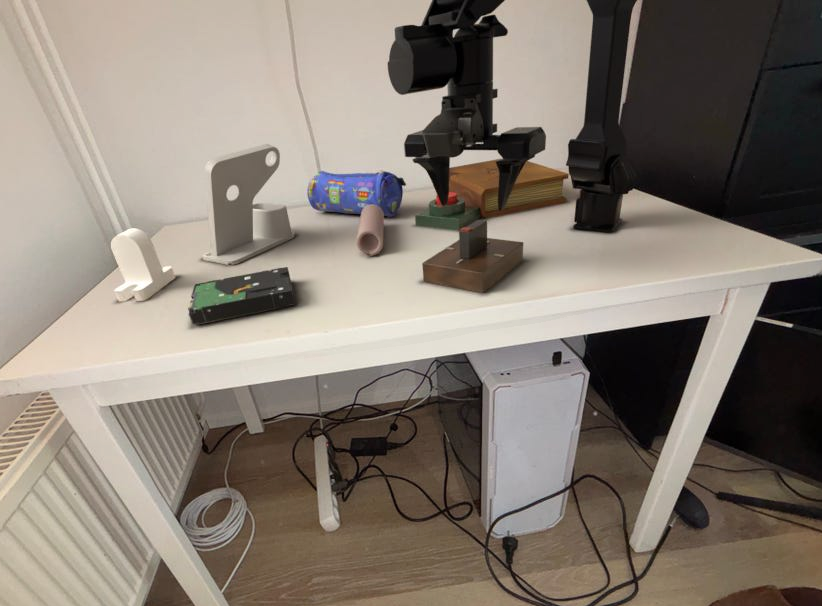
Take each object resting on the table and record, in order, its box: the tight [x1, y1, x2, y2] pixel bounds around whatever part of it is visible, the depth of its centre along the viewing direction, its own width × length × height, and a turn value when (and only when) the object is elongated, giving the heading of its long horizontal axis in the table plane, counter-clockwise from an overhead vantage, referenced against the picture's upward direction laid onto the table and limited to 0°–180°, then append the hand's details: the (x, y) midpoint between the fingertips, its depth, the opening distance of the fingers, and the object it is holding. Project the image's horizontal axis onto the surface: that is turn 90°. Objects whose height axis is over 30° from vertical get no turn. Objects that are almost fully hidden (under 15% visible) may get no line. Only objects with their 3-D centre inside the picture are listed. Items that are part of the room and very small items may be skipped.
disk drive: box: [187, 266, 295, 325], centre depth 73 cm, size 10×3×15 cm
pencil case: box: [306, 169, 407, 218], centre depth 107 cm, size 22×9×10 cm, turn 58°
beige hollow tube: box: [356, 204, 385, 257], centre depth 91 cm, size 5×5×18 cm
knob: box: [458, 219, 488, 259], centre depth 72 cm, size 6×2×4 cm, turn 142°
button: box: [435, 192, 457, 205], centre depth 94 cm, size 4×4×2 cm
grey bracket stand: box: [201, 143, 295, 266], centre depth 93 cm, size 17×10×18 cm, turn 145°
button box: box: [414, 197, 481, 232], centre depth 96 cm, size 10×8×4 cm
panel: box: [421, 237, 524, 294], centre depth 74 cm, size 10×13×3 cm
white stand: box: [110, 227, 176, 302], centre depth 81 cm, size 5×10×10 cm, turn 170°
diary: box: [449, 158, 570, 219], centre depth 105 cm, size 23×19×6 cm
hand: (471, 207), depth 70 cm, fingers open, 9 cm apart
